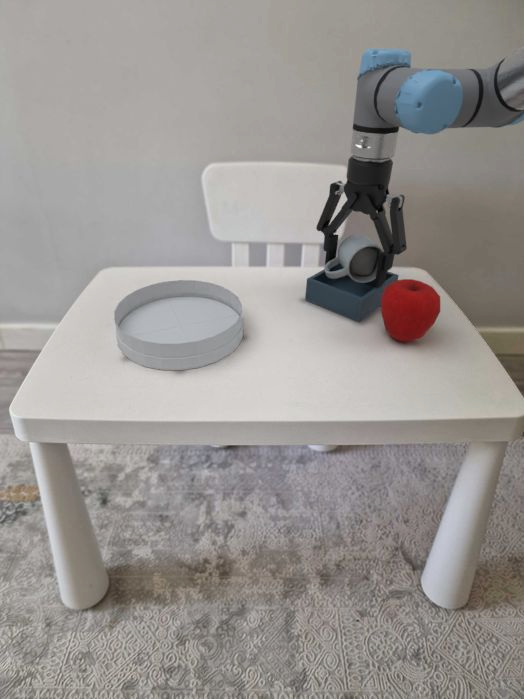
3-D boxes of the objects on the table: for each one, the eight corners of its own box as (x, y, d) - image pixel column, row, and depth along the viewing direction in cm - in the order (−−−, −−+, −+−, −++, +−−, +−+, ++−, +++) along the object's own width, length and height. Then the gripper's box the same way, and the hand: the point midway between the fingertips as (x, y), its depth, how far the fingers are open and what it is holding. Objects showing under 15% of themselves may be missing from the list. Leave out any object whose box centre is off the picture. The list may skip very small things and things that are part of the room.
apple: (442, 344, 79) (459, 289, 73) (397, 356, 76) (410, 299, 70) (407, 317, 87) (419, 265, 81) (364, 327, 84) (374, 273, 78)
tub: (394, 296, 94) (398, 274, 91) (359, 322, 85) (363, 300, 82) (342, 277, 101) (345, 257, 98) (305, 300, 92) (306, 278, 89)
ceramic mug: (367, 264, 95) (372, 228, 90) (383, 281, 88) (389, 244, 84) (318, 268, 93) (321, 232, 88) (331, 286, 86) (334, 248, 82)
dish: (262, 353, 76) (263, 328, 73) (128, 383, 69) (123, 357, 66) (220, 294, 93) (219, 272, 90) (109, 314, 86) (104, 290, 83)
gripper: (303, 150, 81) (295, 264, 94) (426, 173, 69) (398, 301, 81) (326, 144, 86) (316, 253, 98) (445, 165, 73) (416, 287, 86)
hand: (353, 275), depth 90 cm, fingers closed on ceramic mug, 11 cm apart
